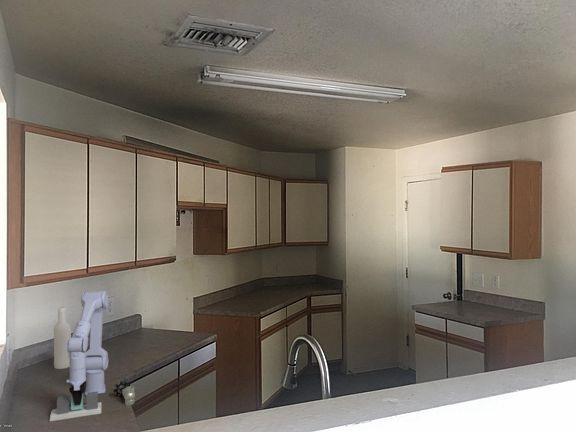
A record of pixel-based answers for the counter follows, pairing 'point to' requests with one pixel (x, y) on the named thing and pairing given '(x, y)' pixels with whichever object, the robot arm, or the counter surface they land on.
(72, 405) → the block
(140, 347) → the counter surface
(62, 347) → the bottle
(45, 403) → the counter surface
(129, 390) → the valve
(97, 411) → the rail plate
